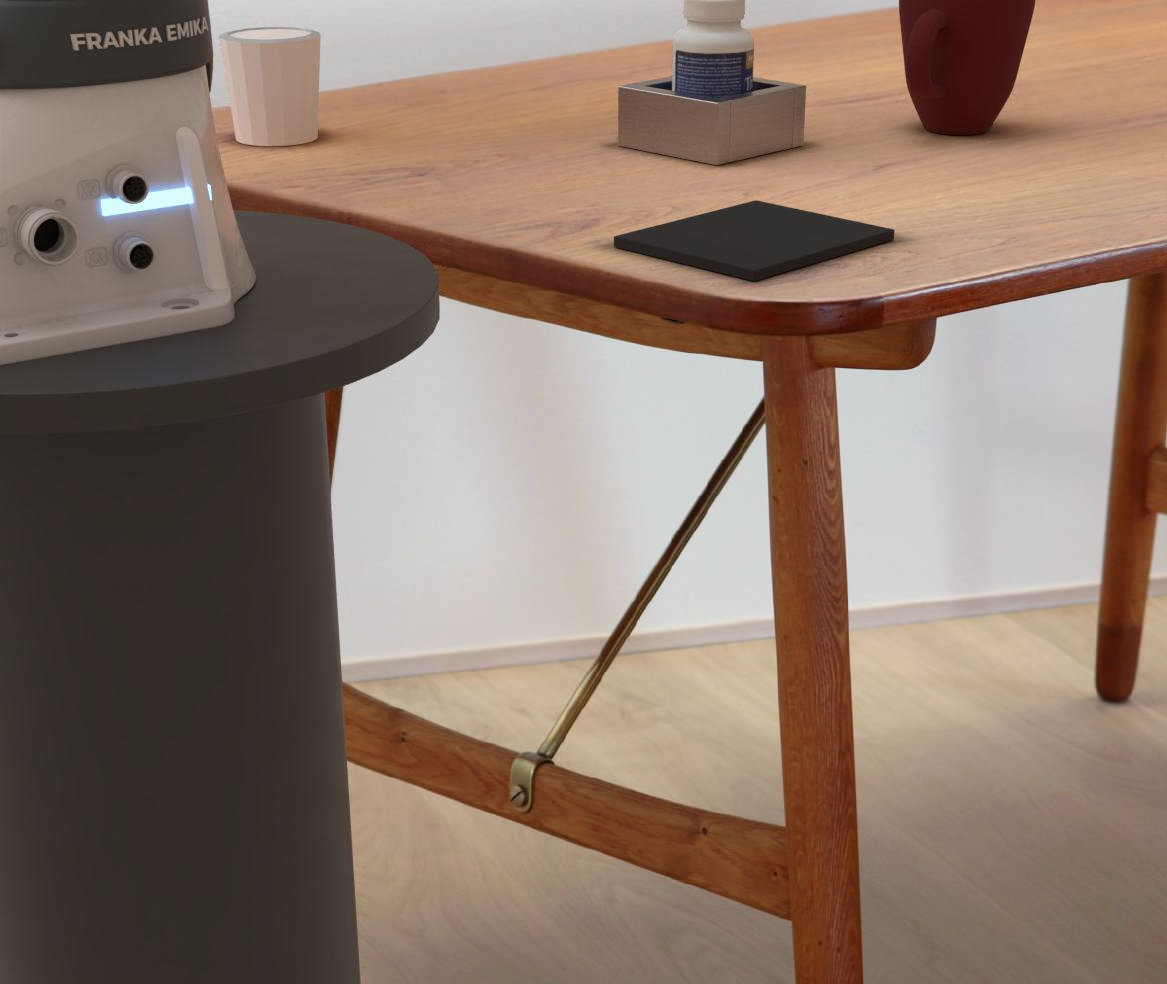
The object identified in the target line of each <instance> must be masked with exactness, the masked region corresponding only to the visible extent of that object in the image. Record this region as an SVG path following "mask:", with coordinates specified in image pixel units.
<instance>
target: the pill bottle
mask: <svg viewBox="0 0 1167 984" xmlns="http://www.w3.org/2000/svg"><path fill="white" fill-rule="evenodd" d="M682 14H683V18H684V19H685V20H686V26H685V27H683V28H680V29H678V31H677V32H676V33H675V34H674V36H673V39H672V47H671V48H672V49H671V53H672V54H671V55H672V57H671V58H672V59H671V60H672V61H671V62H672V65H671V68H672V69H671V76H672V91H677V92H682V93H688V94H694V95H700V96H706V97H712V98H721V97H726V96H732V95H737V94H742V93H747V92H752V90H753V77H754V59H755V58H754V57H755V41H754V36H753V35H752V34H751V32H750V31H749V30H747V29H746V28H743V27H742V20H744V19H745V15H746V0H683V10H682Z"/></svg>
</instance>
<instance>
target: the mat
mask: <svg viewBox="0 0 1167 984" xmlns="http://www.w3.org/2000/svg"><path fill="white" fill-rule="evenodd" d="M895 230H896V229H893V228H889V227H886V226H885V227H884V226H881V225H875V224H870V223H865V222H860V221H857V220H852V219H846V218H843V217H842V218H841V217H837V216H833V215H828V214H823V213H818V212H814V211H809V210H805V209H800V208H799V209H798V208H794V207H791V206H786V205H785V206H784V205H781V204H776V203H771V202H766V201H761V200H755V199H754V200H751V201H747V202H744V203H743V202H742V203H740V204H739V203H738V204H735V205H731V206H728V207H724V208H720V209H715V210H712V211H708V212H705V213H700V214H696V215H693V216H688V217H685V218H681V219H677V220H673V221H669V222H664V223H662V224H657V225H654V226H653V225H652V226H650V227H646V228H642V229H641V228H640V229H638V230H634V231H630V232H626V233H621V234H618V235H614V236H613V247H615V248H617V249H622V250H625V251H630V252H635V253H638V254H642V255H647V256H651V257H655V258H658V259H662V260H667V261H670V262H675V263H678V264H682V265H686V266H691V267H694V268H698V269H703V270H707V271H710V272H714V273H719V274H723V275H727V276H731V277H736V278H738V279H744V280H747V281H751V282H756V281H760V280H763V279H766V278H770V277H773V276H777V275H780V274H783V273H786V272H790V271H793V270H797V269H800V268H803V267H807V266H811V265H814V264H816V263H820V262H824V261H827V260H831V259H833V258H837V257H840V256H844V255H847V254H850V253H853V252H857V251H861V250H864V249H867V248H870V247H873V246H877V245H880V244H883V243H888V242H890V241H894V239H895Z"/></svg>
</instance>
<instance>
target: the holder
mask: <svg viewBox="0 0 1167 984" xmlns="http://www.w3.org/2000/svg"><path fill="white" fill-rule="evenodd" d="M617 91H618V93H617V94H618V96H617V97H618V99H617V100H618V101H617V106H618V107H617V109H618V110H617V128H618V129H617V146H619V147H622V148H628V149H633V150H637V151H642V152H648V153H653V154H657V155H662V156H668V157H672V158H678V159H683V160H688V161H691V162H692V161H693V162H698V163H702V164H708V165H714V166H720V165H725V164H728V163H734V162H737V161H742V160H747V159H751V158H754V157H759V156H764V155H768V154H772V153H777V152H782V151H785V150H790V149H794V148H795V149H796V148H799V147H803V146H804V144H805V143H804V141H805V119H806V101H807V99H806V98H807V85H805V84H800V83H793V82H787V81H782V80H781V81H780V80H774V79H769V78H763V77H762V78H760V77H755V76H753V90H752V92H747V93H742V94H737V95H732V96H726V97H721V98H712V97H706V96H700V95H694V94H688V93H682V92H677V91H672V75H671V76H666V77H659V78H655V79H649V80H643V81H637V82H632V83H627V84H621V85H618V90H617Z"/></svg>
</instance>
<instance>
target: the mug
mask: <svg viewBox="0 0 1167 984" xmlns="http://www.w3.org/2000/svg"><path fill="white" fill-rule="evenodd" d="M1035 6H1036V0H898V15H899V24H900V26H899V27H900V35H901V45H902V55H903V66H904V75H905V82H906V83H905V84H906V87H907V91H908V95H909V96H910V97H909V98H910V99H911V103H912V104H913V106H914V109H915V111H916V113H917V116H918V118H919V120H920V123H921V125H922V127H923V128H924V129H925V130H926V131H927V132H930V133H934V134H940V135H941V134H942V135H949V136H950V135H951V136H971V135H972V136H974V135H980V134H985V133H987V132H988V131H989V130H990V129H991V128H992V126H993V124H994V123H995V121H996V119H997V118H998V116H999V115H1000V113H1001V112H1002V110H1003V108H1004V107H1005V105H1006V103H1007V102H1008V100H1009V98H1010V96H1011V94H1012V92H1013V89H1014V87H1015V83H1016V81H1017V78H1018V73H1019V69H1020V66H1021V62H1022V58H1023V53H1024V51H1025V47H1026V43H1027V39H1028V35H1029V32H1030V27H1031V24H1032V20H1033V17H1034V11H1035Z"/></svg>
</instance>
